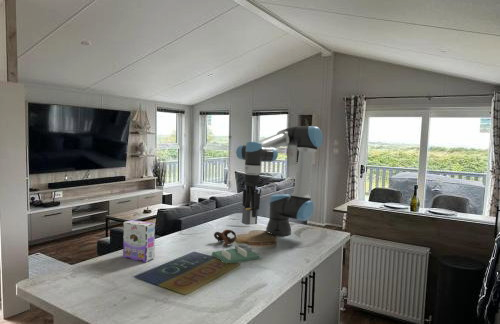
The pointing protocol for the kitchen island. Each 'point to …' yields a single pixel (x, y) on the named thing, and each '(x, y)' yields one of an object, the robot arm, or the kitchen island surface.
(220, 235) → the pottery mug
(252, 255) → the header board
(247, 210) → the plug
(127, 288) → the kitchen island surface
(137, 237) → the candy box
